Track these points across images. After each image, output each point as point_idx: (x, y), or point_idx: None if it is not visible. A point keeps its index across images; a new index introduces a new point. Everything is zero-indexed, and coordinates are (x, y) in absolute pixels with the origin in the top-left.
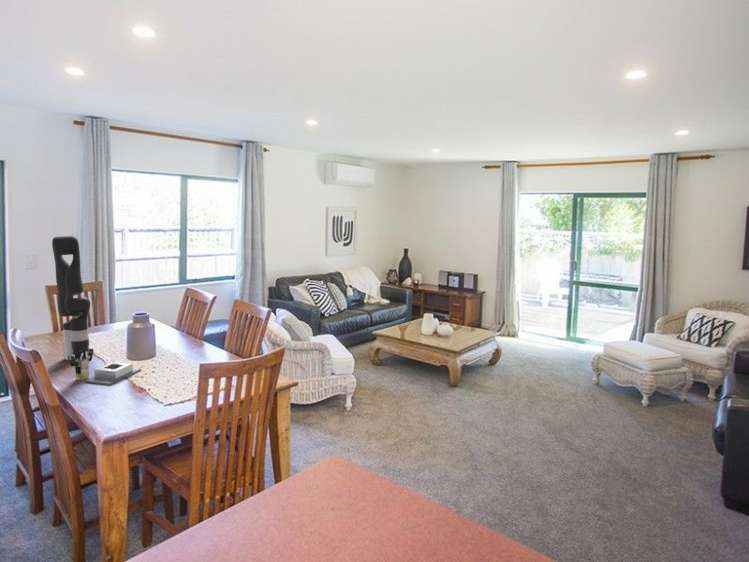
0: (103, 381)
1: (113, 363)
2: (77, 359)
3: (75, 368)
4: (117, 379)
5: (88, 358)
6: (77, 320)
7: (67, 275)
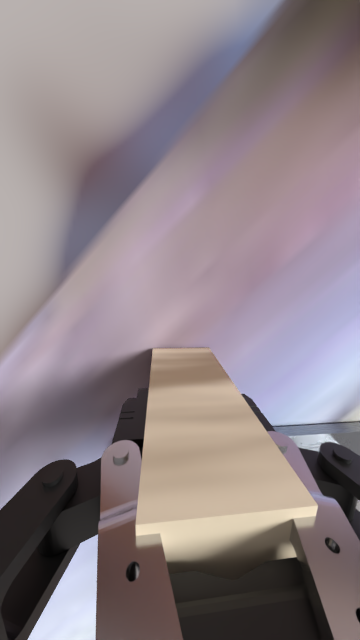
0: None
1: None
2: (174, 550)
3: (113, 438)
4: None
5: (350, 503)
6: None
7: None
